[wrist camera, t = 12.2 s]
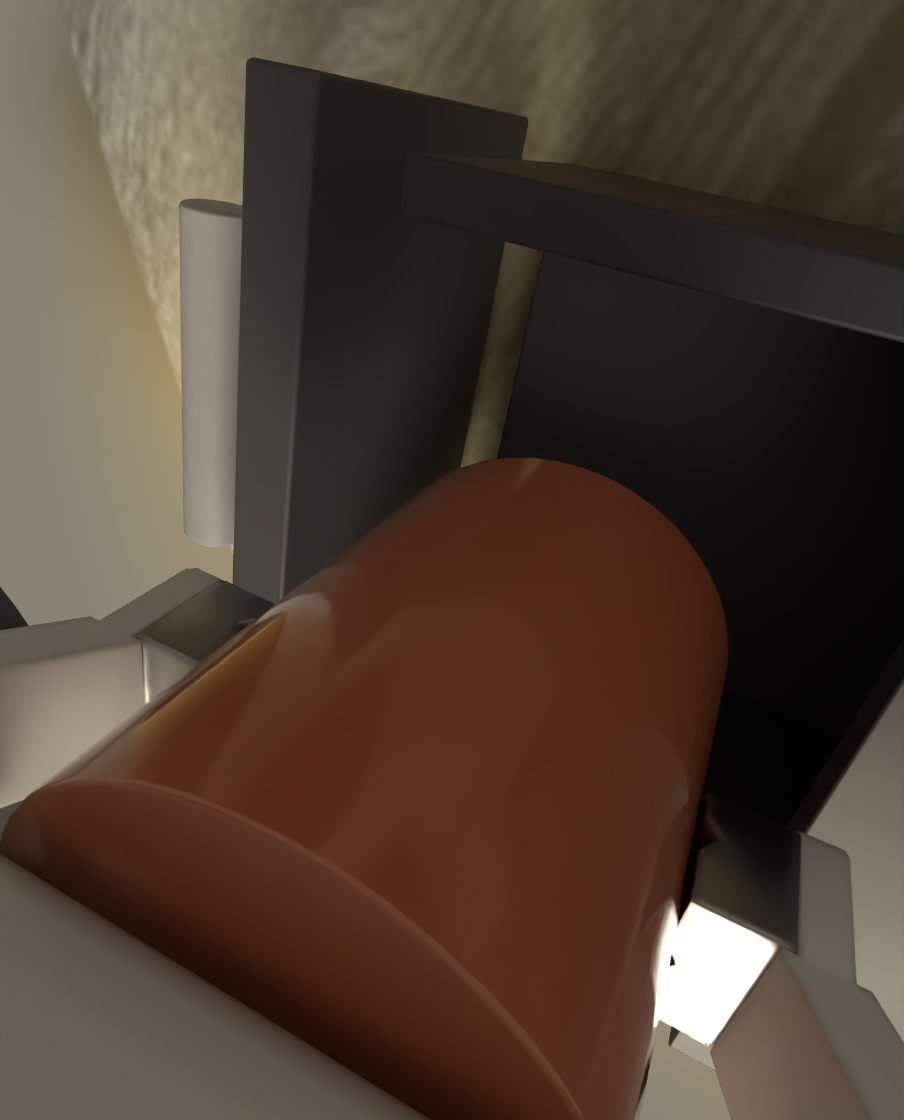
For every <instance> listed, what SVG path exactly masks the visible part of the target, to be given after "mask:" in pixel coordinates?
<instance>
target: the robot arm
mask: <svg viewBox="0 0 904 1120" xmlns="http://www.w3.org/2000/svg"><path fill="white" fill-rule="evenodd" d="M273 605H274V603H272V602H270V601H268V600H266V599H264V598H261V597H259V596H257V595H255V594H253V593H251V592H249V591H246V590H244V589H242V588H240V587H238V586H236V585H234V584H231V583H229V582H227V581H223V580H221V579H219V578H217V577H215V576H212V575H210V574H208V573H206V572H204V571H202V570H200V569H198V568H193V569H185V570H183V571H181V572H180V573H178V574H176V575H175V576H173V577H171V578H170V579H168V580H166V581H165V582H163V583H161V584H160V585H158V586H156V587H155V588H153V589H152V590H150V591H148V592H146V593H145V594H143V595H141V596H140V597H138V598H136V599H135V600H133V601H132V602H130V603H128V604H126V605H125V606H123V607H122V608H120V609H118V610H116V611H115V612H113V613H112V614H110V615H108V616H107V617H105V618H103V619H102V620H100V621H99V620H97V619H95V618H93V617H83V618H77V619H70V620H64V621H58V622H51V623H45V624H38V625H32V626H25V627H19V628H12V629H6V630H0V808H3V807H6V806H8V805H11V804H14V803H16V802H19V801H22V800H24V799H25V798H26V797H27V796H28V795H29V794H30V793H31V792H33V791H34V790H35V789H37V788H38V787H39V786H41V785H42V784H43V783H44V782H46V781H47V780H48V779H50V778H51V777H52V776H53V775H55V774H56V773H57V772H59V771H60V770H61V769H62V768H64V767H65V766H66V765H68V764H69V763H70V762H72V761H73V760H74V759H75V758H77V757H78V756H79V755H81V754H82V753H83V752H84V751H86V750H87V749H88V748H90V747H91V746H92V745H93V744H95V743H96V742H97V741H99V740H100V739H101V738H103V737H104V736H105V735H106V734H108V733H109V732H110V731H112V730H113V729H114V728H115V727H117V726H118V725H119V724H121V723H122V722H123V721H124V720H126V719H127V718H128V717H130V716H131V715H132V714H134V713H135V712H136V711H137V710H139V709H140V708H141V707H143V706H144V705H145V704H146V703H148V702H149V701H150V700H152V699H153V698H154V697H155V696H157V695H158V694H159V693H161V692H162V691H163V690H164V689H166V688H167V687H168V686H170V685H171V684H172V683H174V682H175V681H176V680H177V679H179V678H180V677H181V676H183V675H184V674H185V673H186V672H188V671H189V670H190V669H192V668H193V667H194V666H195V665H197V664H198V663H199V662H201V661H202V660H203V659H205V658H206V657H207V656H208V655H210V654H211V653H212V652H214V651H215V650H216V649H217V648H219V647H220V646H221V645H223V644H224V643H225V642H226V641H228V640H229V639H230V638H232V637H233V636H234V635H236V634H237V633H238V632H239V631H241V630H242V629H243V628H245V627H246V626H247V625H248V624H250V623H251V622H252V621H254V620H255V619H256V618H257V617H259V616H260V615H261V614H263V613H264V612H265V611H267V610H268V609H269V608H270V607H272V606H273ZM659 1019H660V1020H662V1021H663V1022H665V1023H667V1024H669V1025H671V1026H672V1027H674V1028H676V1029H678V1030H679V1031H681V1032H683V1033H685V1034H687V1035H688V1036H690V1037H692V1038H694V1039H696V1040H697V1041H699V1042H701V1043H703V1044H704V1045H706V1046H708V1047H710V1048H712V1049H711V1051H710V1055H711V1058H712V1061H713V1064H714V1067H715V1070H716V1073H717V1076H718V1080H719V1083H720V1086H721V1089H722V1092H723V1095H724V1098H725V1101H726V1104H727V1108H728V1111H729V1114H730V1117H731V1120H904V1042H903V1041H902V1039H901V1037H900V1036H899V1034H898V1032H897V1031H896V1029H895V1028H894V1026H893V1024H892V1023H891V1021H890V1020H889V1018H888V1016H887V1015H886V1013H885V1011H884V1010H883V1008H882V1007H881V1005H880V1003H879V1002H878V1000H877V999H876V997H875V995H874V994H873V992H871V991H869V990H867V989H865V988H863V987H861V986H859V985H857V979H856V960H855V941H854V921H853V902H852V883H851V864H850V858H849V856H848V854H847V852H846V851H845V850H843V849H841V848H838V847H836V846H834V845H831V844H829V843H826V842H824V841H822V840H819V839H817V838H814V837H812V836H810V835H807V834H805V833H802V832H800V831H797V832H796V831H794V830H793V829H791V828H788V827H786V826H784V825H781V824H779V823H777V822H774V821H772V820H770V819H767V818H765V817H763V816H760V815H758V814H756V813H753V812H751V811H749V810H746V809H744V808H742V807H739V806H737V805H735V804H732V803H730V802H728V801H725V800H723V799H721V798H718V797H716V796H714V795H711V794H709V793H706V795H705V796H704V797H703V799H702V800H701V803H700V809H699V814H698V819H697V824H696V829H695V835H694V840H693V845H692V850H691V855H690V860H689V866H688V871H687V876H686V881H685V886H684V891H683V897H682V902H681V907H680V912H679V917H678V923H677V928H676V933H675V938H674V943H673V948H672V954H671V959H670V964H669V969H668V974H667V980H666V985H665V990H664V995H663V1000H662V1005H661V1011H660V1016H659ZM0 1120H430V1119H429V1118H427V1117H426V1116H424V1115H422V1114H421V1113H419V1112H417V1111H416V1110H414V1109H413V1108H411V1107H409V1106H408V1105H406V1104H405V1103H403V1102H401V1101H400V1100H398V1099H397V1098H395V1097H393V1096H392V1095H390V1094H388V1093H387V1092H385V1091H384V1090H382V1089H380V1088H379V1087H377V1086H376V1085H374V1084H372V1083H371V1082H369V1081H367V1080H366V1079H364V1078H363V1077H361V1076H359V1075H358V1074H356V1073H355V1072H353V1071H351V1070H350V1069H348V1068H346V1067H345V1066H343V1065H342V1064H340V1063H338V1062H337V1061H335V1060H334V1059H332V1058H330V1057H329V1056H327V1055H325V1054H324V1053H322V1052H321V1051H319V1050H317V1049H316V1048H314V1047H313V1046H311V1045H309V1044H308V1043H306V1042H305V1041H303V1040H301V1039H300V1038H298V1037H296V1036H295V1035H293V1034H292V1033H290V1032H288V1031H287V1030H285V1029H284V1028H282V1027H280V1026H279V1025H277V1024H275V1023H274V1022H272V1021H271V1020H269V1019H267V1018H266V1017H264V1016H262V1015H261V1014H259V1013H258V1012H256V1011H254V1010H253V1009H251V1008H250V1007H248V1006H246V1005H245V1004H243V1003H241V1002H240V1001H238V1000H237V999H235V998H233V997H232V996H230V995H228V994H227V993H225V992H224V991H222V990H220V989H219V988H217V987H215V986H214V985H212V984H211V983H209V982H207V981H206V980H204V979H203V978H201V977H199V976H198V975H196V974H194V973H193V972H191V971H190V970H188V969H186V968H185V967H183V966H181V965H180V964H178V963H177V962H175V961H173V960H172V959H170V958H169V957H167V956H165V955H164V954H162V953H160V952H159V951H157V950H156V949H154V948H152V947H151V946H149V945H147V944H146V943H144V942H143V941H141V940H139V939H138V938H136V937H135V936H133V935H131V934H130V933H128V932H126V931H125V930H123V929H122V928H120V927H118V926H117V925H115V924H113V923H112V922H110V921H109V920H107V919H105V918H104V917H102V916H101V915H99V914H97V913H96V912H94V911H92V910H91V909H89V908H88V907H86V906H84V905H83V904H81V903H79V902H78V901H76V900H75V899H73V898H71V897H70V896H68V895H67V894H65V893H63V892H62V891H60V890H58V889H57V888H55V887H54V886H52V885H50V884H49V883H47V882H45V881H44V880H42V879H41V878H39V877H37V876H36V875H34V874H33V873H31V872H29V871H28V870H26V869H24V868H23V867H21V866H20V865H18V864H16V863H15V862H13V861H12V860H10V859H8V858H7V857H5V856H3V855H2V854H0Z"/></svg>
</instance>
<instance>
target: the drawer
mask: <svg viewBox="0 0 904 1120" xmlns="http://www.w3.org/2000/svg"><path fill="white" fill-rule="evenodd" d="M527 127H528V118H527V117H524V116H520V115H515V114H511V113H506V112H502V111H497V110H493V109H488V108H484V107H479V106H475V105H470V104H466V103H461V102H457V101H452V100H448V99H443V98H439V97H435V96H430V95H426V94H421V93H417V92H412V91H408V90H403V89H399V88H394V87H390V86H385V85H381V84H376V83H372V82H367V81H363V80H358V79H354V78H349V77H345V76H340V75H336V74H331V73H327V72H322V71H318V70H313V69H308V68H303V67H298V66H293V65H288V64H283V63H278V62H273V61H268V60H263V59H259V58H254V57H253V58H250V59H248V60H247V63H246V95H245V134H244V172H243V206H242V205H238V204H233V203H229V202H223V201H216V200H208V199H187V200H183V201H181V202H180V205H179V221H180V291H181V361H182V429H183V501H184V533H185V534H186V536H187V537H188V539H189V540H191V541H192V542H194V543H196V544H199V545H202V546H206V547H227V546H231V545H234V555H233V584H234V585H236V586H238V587H240V588H242V589H244V590H246V591H249V592H251V593H253V594H255V595H257V596H259V597H261V598H264V599H266V600H268V601H270V602H272V603H274V604H276V603H277V602H278V601H279V600H281V599H282V598H283V597H285V596H286V595H287V594H288V593H290V592H291V591H292V590H294V589H295V588H296V587H298V586H299V585H300V584H301V583H303V582H304V581H305V580H307V579H308V578H309V577H310V576H312V575H313V574H314V573H316V572H317V571H318V570H319V569H321V568H322V567H323V566H325V565H326V564H327V563H329V562H330V561H331V560H332V559H334V558H335V557H336V556H338V555H339V554H340V553H341V552H343V551H344V550H345V549H347V548H348V547H349V546H350V545H352V544H353V543H354V542H356V541H357V540H358V539H359V538H361V537H362V536H363V535H365V534H366V533H367V532H369V531H370V530H371V529H372V528H374V527H375V526H376V525H378V524H379V523H380V522H381V521H383V520H384V519H385V518H387V517H388V516H389V515H390V514H392V513H393V512H394V511H396V510H397V509H398V508H400V507H401V506H402V505H403V504H405V503H406V502H407V501H409V500H410V499H411V498H412V497H414V496H415V495H416V494H418V493H419V492H420V491H421V490H423V489H424V488H425V487H427V486H428V485H430V484H431V483H433V482H435V481H436V480H438V479H439V478H441V477H442V476H444V475H446V474H449V473H451V472H453V471H455V470H457V469H460V466H461V461H462V456H463V451H464V445H465V440H466V435H467V430H468V425H469V420H470V415H471V410H472V405H473V400H474V395H475V390H476V385H477V380H478V375H479V370H480V365H481V359H482V354H483V349H484V344H485V339H486V334H487V329H488V324H489V319H490V314H491V309H492V304H493V299H494V294H495V289H496V284H497V279H498V273H499V268H500V263H501V258H502V253H503V248H504V243H505V241H506V242H509V243H513V244H517V245H521V246H525V247H529V248H533V249H537V250H541V251H544V252H543V257H542V261H541V266H540V270H539V275H538V279H537V284H536V288H535V292H534V297H533V301H532V306H531V310H530V315H529V319H528V324H527V328H526V333H525V337H524V341H523V346H522V350H521V355H520V359H519V364H518V368H517V373H516V377H515V382H514V386H513V390H512V395H511V399H510V404H509V408H508V413H507V417H506V422H505V426H504V431H503V435H502V439H501V444H500V448H499V453H498V457H497V459H503V458H537V459H544V460H552V461H559V462H562V463H566V464H570V465H574V466H578V467H581V468H585V469H587V470H590V471H592V472H595V473H597V474H600V475H602V476H605V477H607V478H609V479H611V480H613V481H615V482H617V483H618V484H620V485H622V486H624V487H626V488H628V489H629V490H631V491H633V492H634V493H636V494H637V495H639V496H640V497H641V498H643V499H644V500H645V501H647V502H648V503H650V504H651V505H652V506H654V507H655V508H656V509H657V510H658V511H660V512H661V513H662V514H663V515H664V516H665V517H666V518H667V519H668V520H669V521H670V522H671V523H672V524H674V525H675V526H676V527H677V529H678V530H679V531H680V532H681V533H682V535H683V536H684V537H685V538H686V539H687V541H688V542H689V543H690V544H691V545H692V547H693V548H694V549H695V551H696V553H697V554H698V556H699V557H700V559H701V560H702V562H703V564H704V565H705V567H706V568H707V570H708V572H709V574H710V577H711V579H712V581H713V583H714V585H715V587H716V590H717V592H718V594H719V598H720V601H721V605H722V608H723V612H724V615H725V620H726V628H727V635H728V664H727V669H726V674H725V679H724V684H723V690H722V695H721V700H720V705H719V710H718V715H717V721H716V726H715V731H714V736H713V741H712V747H711V752H710V757H709V762H708V767H707V772H706V778H705V783H704V788H703V793H702V798H701V800H702V799H703V797H704V796H705V795H706V793H709V794H711V795H714V796H716V797H718V798H721V799H723V800H725V801H728V802H730V803H732V804H735V805H737V806H739V807H742V808H744V809H746V810H749V811H751V812H753V813H756V814H758V815H760V816H763V817H765V818H767V819H770V820H772V821H774V822H777V823H779V824H781V825H784V826H786V827H787V825H788V824H789V822H790V821H791V819H792V817H793V816H794V814H795V813H796V811H797V809H798V808H799V806H800V804H801V803H802V801H803V800H804V798H805V796H806V795H807V793H808V791H809V790H810V788H811V787H812V785H813V783H814V782H815V780H816V778H817V777H818V775H819V774H820V772H821V770H822V769H823V767H824V766H825V764H826V762H827V761H828V759H829V757H830V756H831V754H832V753H833V751H834V749H835V748H836V746H837V744H838V743H839V741H840V740H841V738H842V736H843V735H844V733H845V731H846V730H847V728H848V727H849V725H850V723H851V722H852V720H853V719H854V717H855V715H856V714H857V712H858V710H859V709H860V707H861V706H862V704H863V702H864V701H865V699H866V697H867V696H868V694H869V693H870V691H871V689H872V688H873V686H874V684H875V683H876V681H877V680H878V678H879V676H880V675H881V673H882V672H883V670H884V668H885V667H886V665H887V663H888V662H889V660H890V659H891V657H892V655H893V654H894V652H895V650H896V649H897V647H898V646H899V644H900V642H901V641H902V639H903V638H904V236H902V235H898V234H893V233H889V232H884V231H880V230H875V229H870V228H866V227H861V226H857V225H852V224H848V223H843V222H838V221H834V220H829V219H825V218H820V217H815V216H811V215H806V214H802V213H797V212H793V211H788V210H783V209H779V208H774V207H770V206H765V205H761V204H756V203H751V202H747V201H742V200H738V199H733V198H728V197H724V196H719V195H715V194H710V193H706V192H701V191H696V190H692V189H687V188H683V187H678V186H674V185H669V184H664V183H660V182H655V181H651V180H646V179H641V178H637V177H632V176H628V175H623V174H619V173H614V172H609V171H605V170H600V169H596V168H591V167H587V166H582V165H577V164H568V163H567V164H566V163H555V162H541V161H528V160H521V157H522V152H523V147H524V142H525V137H526V132H527Z"/></svg>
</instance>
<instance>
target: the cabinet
mask: <svg viewBox="0 0 904 1120" xmlns="http://www.w3.org/2000/svg"><path fill="white" fill-rule="evenodd" d="M787 827H788V828H791V829H793V830H794V831H796V832H797V831H800V832H802V833H805V834H807V835H810V836H812V837H814V838H817V839H819V840H822V841H824V842H826V843H829V844H831V845H834V846H836V847H838V848H841V849H843V850H845V851H846V852H847V854H848V856H849V858H850V864H851V883H852V902H853V921H854V941H855V960H856V979H857V985H859V986H861V987H863V988H865V989H867V990H869V991H871V992H873V994H874V995H875V997H876V999H877V1000H878V1002H879V1003H880V1005H881V1007H882V1008H883V1010H884V1011H885V1013H886V1015H887V1016H888V1018H889V1020H890V1021H891V1023H892V1024H893V1026H894V1028H895V1029H896V1031H897V1032H898V1034H899V1036H900V1037H901V1039H902V1041H903V1042H904V638H903V639H902V641H901V642H900V644H899V646H898V647H897V649H896V650H895V652H894V654H893V655H892V657H891V659H890V660H889V662H888V663H887V665H886V667H885V668H884V670H883V672H882V673H881V675H880V676H879V678H878V680H877V681H876V683H875V684H874V686H873V688H872V689H871V691H870V693H869V694H868V696H867V697H866V699H865V701H864V702H863V704H862V706H861V707H860V709H859V710H858V712H857V714H856V715H855V717H854V719H853V720H852V722H851V723H850V725H849V727H848V728H847V730H846V731H845V733H844V735H843V736H842V738H841V740H840V741H839V743H838V744H837V746H836V748H835V749H834V751H833V753H832V754H831V756H830V757H829V759H828V761H827V762H826V764H825V766H824V767H823V769H822V770H821V772H820V774H819V775H818V777H817V778H816V780H815V782H814V783H813V785H812V787H811V788H810V790H809V791H808V793H807V795H806V796H805V798H804V800H803V801H802V803H801V804H800V806H799V808H798V809H797V811H796V813H795V814H794V816H793V817H792V819H791V821H790V822H789V824H788V825H787ZM669 1046H670V1047H672V1048H674V1049H675V1050H677V1051H679V1052H681V1053H683V1054H685V1055H686V1056H689V1057H690V1058H692V1059H694V1060H696V1061H698V1062H700V1063H701V1064H703V1065H705V1066H707V1067H709V1068H711V1069H713V1070H714V1071H716V1070H715V1067H714V1064H713V1061H712V1058H711V1055H710V1051H711V1049H712V1048H710V1047H708V1046H706V1045H704V1044H703V1043H701V1042H699V1041H697V1040H696V1039H694V1038H692V1037H690V1036H688V1035H687V1034H685V1033H683V1032H681V1031H679V1030H678V1029H676V1028H674V1027H672V1026H671V1032H670V1038H669Z"/></svg>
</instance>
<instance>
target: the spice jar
mask: <svg viewBox="0 0 904 1120" xmlns="http://www.w3.org/2000/svg"><path fill="white" fill-rule="evenodd" d="M727 664H728V635H727V628H726V620H725V615H724V612H723V608H722V605H721V601H720V598H719V594H718V592H717V590H716V587H715V585H714V583H713V581H712V579H711V577H710V574H709V572H708V570H707V568H706V567H705V565H704V564H703V562H702V560H701V559H700V557H699V556H698V554H697V553H696V551H695V549H694V548H693V547H692V545H691V544H690V543H689V542H688V541H687V539H686V538H685V537H684V536H683V535H682V533H681V532H680V531H679V530H678V529H677V527H676V526H675V525H674V524H672V523H671V522H670V521H669V520H668V519H667V518H666V517H665V516H664V515H663V514H662V513H661V512H660V511H658V510H657V509H656V508H655V507H654V506H652V505H651V504H650V503H648V502H647V501H645V500H644V499H643V498H641V497H640V496H639V495H637V494H636V493H634V492H633V491H631V490H629V489H628V488H626V487H624V486H622V485H620V484H618V483H617V482H615V481H613V480H611V479H609V478H607V477H605V476H602V475H600V474H597V473H595V472H592V471H590V470H587V469H585V468H581V467H578V466H574V465H570V464H566V463H562V462H559V461H552V460H544V459H537V458H503V459H496V460H488V461H483V462H479V463H476V464H472V465H469V466H465V467H462V468H460V469H457V470H455V471H453V472H451V473H449V474H446V475H444V476H442V477H441V478H439V479H438V480H436V481H435V482H433V483H431V484H430V485H428V486H427V487H425V488H424V489H423V490H421V491H420V492H419V493H418V494H416V495H415V496H414V497H412V498H411V499H410V500H409V501H407V502H406V503H405V504H403V505H402V506H401V507H400V508H398V509H397V510H396V511H394V512H393V513H392V514H390V515H389V516H388V517H387V518H385V519H384V520H383V521H381V522H380V523H379V524H378V525H376V526H375V527H374V528H372V529H371V530H370V531H369V532H367V533H366V534H365V535H363V536H362V537H361V538H359V539H358V540H357V541H356V542H354V543H353V544H352V545H350V546H349V547H348V548H347V549H345V550H344V551H343V552H341V553H340V554H339V555H338V556H336V557H335V558H334V559H332V560H331V561H330V562H329V563H327V564H326V565H325V566H323V567H322V568H321V569H319V570H318V571H317V572H316V573H314V574H313V575H312V576H310V577H309V578H308V579H307V580H305V581H304V582H303V583H301V584H300V585H299V586H298V587H296V588H295V589H294V590H292V591H291V592H290V593H288V594H287V595H286V596H285V597H283V598H282V599H281V600H279V601H278V602H277V603H276V604H274V605H273V606H272V607H270V608H269V609H268V610H267V611H265V612H264V613H263V614H261V615H260V616H259V617H257V618H256V619H255V620H254V621H252V622H251V623H250V624H248V625H247V626H246V627H245V628H243V629H242V630H241V631H239V632H238V633H237V634H236V635H234V636H233V637H232V638H230V639H229V640H228V641H226V642H225V643H224V644H223V645H221V646H220V647H219V648H217V649H216V650H215V651H214V652H212V653H211V654H210V655H208V656H207V657H206V658H205V659H203V660H202V661H201V662H199V663H198V664H197V665H195V666H194V667H193V668H192V669H190V670H189V671H188V672H186V673H185V674H184V675H183V676H181V677H180V678H179V679H177V680H176V681H175V682H174V683H172V684H171V685H170V686H168V687H167V688H166V689H164V690H163V691H162V692H161V693H159V694H158V695H157V696H155V697H154V698H153V699H152V700H150V701H149V702H148V703H146V704H145V705H144V706H143V707H141V708H140V709H139V710H137V711H136V712H135V713H134V714H132V715H131V716H130V717H128V718H127V719H126V720H124V721H123V722H122V723H121V724H119V725H118V726H117V727H115V728H114V729H113V730H112V731H110V732H109V733H108V734H106V735H105V736H104V737H103V738H101V739H100V740H99V741H97V742H96V743H95V744H93V745H92V746H91V747H90V748H88V749H87V750H86V751H84V752H83V753H82V754H81V755H79V756H78V757H77V758H75V759H74V760H73V761H72V762H70V763H69V764H68V765H66V766H65V767H64V768H62V769H61V770H60V771H59V772H57V773H56V774H55V775H53V776H52V777H51V778H50V779H48V780H47V781H46V782H44V783H43V784H42V785H41V786H39V787H38V788H37V789H35V790H34V791H33V792H31V793H30V794H29V795H28V796H27V797H26V798H25V799H24V800H23V801H22V802H21V803H20V804H19V805H18V806H17V807H16V808H15V809H14V810H13V812H12V813H11V815H10V817H9V819H8V821H7V823H6V825H5V827H4V829H3V831H2V833H1V836H0V854H2V855H3V856H5V857H7V858H8V859H10V860H12V861H13V862H15V863H16V864H18V865H20V866H21V867H23V868H24V869H26V870H28V871H29V872H31V873H33V874H34V875H36V876H37V877H39V878H41V879H42V880H44V881H45V882H47V883H49V884H50V885H52V886H54V887H55V888H57V889H58V890H60V891H62V892H63V893H65V894H67V895H68V896H70V897H71V898H73V899H75V900H76V901H78V902H79V903H81V904H83V905H84V906H86V907H88V908H89V909H91V910H92V911H94V912H96V913H97V914H99V915H101V916H102V917H104V918H105V919H107V920H109V921H110V922H112V923H113V924H115V925H117V926H118V927H120V928H122V929H123V930H125V931H126V932H128V933H130V934H131V935H133V936H135V937H136V938H138V939H139V940H141V941H143V942H144V943H146V944H147V945H149V946H151V947H152V948H154V949H156V950H157V951H159V952H160V953H162V954H164V955H165V956H167V957H169V958H170V959H172V960H173V961H175V962H177V963H178V964H180V965H181V966H183V967H185V968H186V969H188V970H190V971H191V972H193V973H194V974H196V975H198V976H199V977H201V978H203V979H204V980H206V981H207V982H209V983H211V984H212V985H214V986H215V987H217V988H219V989H220V990H222V991H224V992H225V993H227V994H228V995H230V996H232V997H233V998H235V999H237V1000H238V1001H240V1002H241V1003H243V1004H245V1005H246V1006H248V1007H250V1008H251V1009H253V1010H254V1011H256V1012H258V1013H259V1014H261V1015H262V1016H264V1017H266V1018H267V1019H269V1020H271V1021H272V1022H274V1023H275V1024H277V1025H279V1026H280V1027H282V1028H284V1029H285V1030H287V1031H288V1032H290V1033H292V1034H293V1035H295V1036H296V1037H298V1038H300V1039H301V1040H303V1041H305V1042H306V1043H308V1044H309V1045H311V1046H313V1047H314V1048H316V1049H317V1050H319V1051H321V1052H322V1053H324V1054H325V1055H327V1056H329V1057H330V1058H332V1059H334V1060H335V1061H337V1062H338V1063H340V1064H342V1065H343V1066H345V1067H346V1068H348V1069H350V1070H351V1071H353V1072H355V1073H356V1074H358V1075H359V1076H361V1077H363V1078H364V1079H366V1080H367V1081H369V1082H371V1083H372V1084H374V1085H376V1086H377V1087H379V1088H380V1089H382V1090H384V1091H385V1092H387V1093H388V1094H390V1095H392V1096H393V1097H395V1098H397V1099H398V1100H400V1101H401V1102H403V1103H405V1104H406V1105H408V1106H409V1107H411V1108H413V1109H414V1110H416V1111H417V1112H419V1113H421V1114H422V1115H424V1116H426V1117H427V1118H429V1119H430V1120H639V1119H640V1114H641V1109H642V1103H643V1099H644V1093H645V1088H646V1083H647V1078H648V1072H649V1067H650V1062H651V1057H652V1052H653V1047H654V1042H655V1036H656V1031H657V1026H658V1021H659V1016H660V1011H661V1005H662V1000H663V995H664V990H665V985H666V980H667V974H668V969H669V964H670V959H671V954H672V948H673V943H674V938H675V933H676V928H677V923H678V917H679V912H680V907H681V902H682V897H683V891H684V886H685V881H686V876H687V871H688V866H689V860H690V855H691V850H692V845H693V840H694V835H695V829H696V824H697V819H698V814H699V809H700V803H701V798H702V793H703V788H704V783H705V778H706V772H707V767H708V762H709V757H710V752H711V747H712V741H713V736H714V731H715V726H716V721H717V715H718V710H719V705H720V700H721V695H722V690H723V684H724V679H725V674H726V669H727Z"/></svg>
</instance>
